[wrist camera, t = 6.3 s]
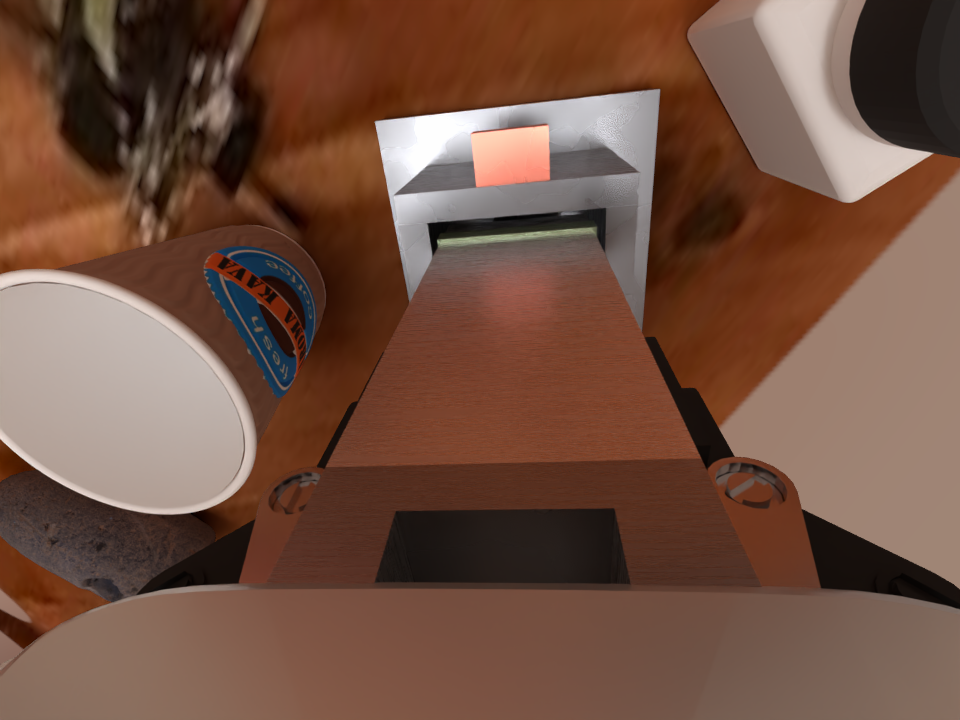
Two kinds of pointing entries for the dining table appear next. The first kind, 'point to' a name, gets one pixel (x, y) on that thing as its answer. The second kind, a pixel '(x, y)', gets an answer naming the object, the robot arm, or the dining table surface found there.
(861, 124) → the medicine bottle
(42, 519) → the perforated stone tool
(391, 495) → the jack column
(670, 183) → the dining table surface
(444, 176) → the base
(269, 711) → the robot arm
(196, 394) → the coffee cup
